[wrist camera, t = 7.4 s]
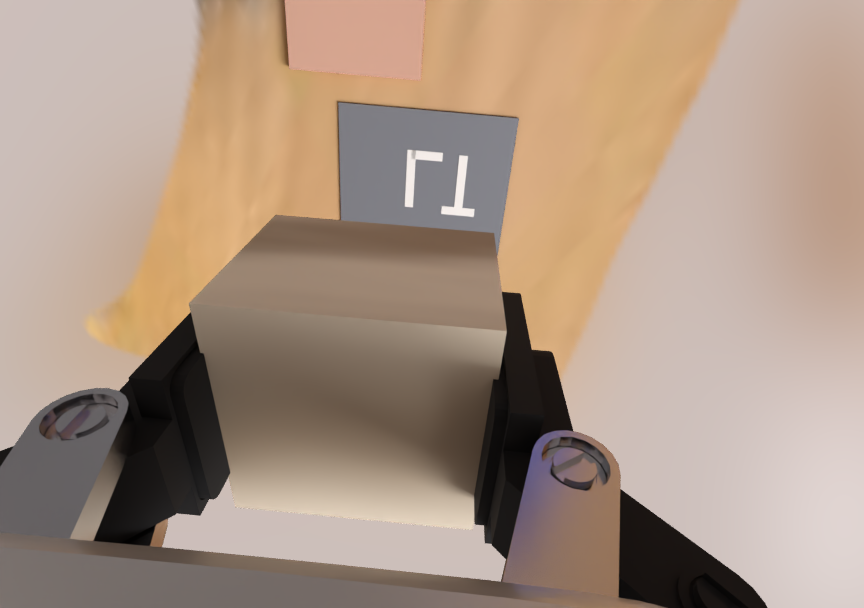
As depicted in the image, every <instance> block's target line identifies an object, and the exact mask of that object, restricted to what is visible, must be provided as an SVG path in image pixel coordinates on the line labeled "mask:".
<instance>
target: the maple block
mask: <svg viewBox="0 0 864 608" xmlns="http://www.w3.org/2000/svg"><path fill="white" fill-rule="evenodd" d="M189 306H190V311H191V315H192V319H193V324H194V328H195V333H196V337H197V341H198V346H199V350H200V353H204V357H205V361H206V366H207V370H208V374H209V379H210V383H211V388H212V392H213V397H214V401H215V406H216V410H217V415H218V419H219V424H220V428H221V433H222V437H223V441H224V446H225V450H226V455H227V459H228V464H229V468H230V475H229V476H228V477H229V481H230V486H231V490H232V494H233V499H234V503H235V507H238V508H248V509H260V510H269V511H280V512H290V513H300V514H301V513H302V514H312V515H321V516H332V517H342V518H353V519H363V520H374V521H385V522H394V523H406V524H415V525H426V526H436V527H446V528H457V529H468V530H472V529H473V524H474V493H475V487H476V481H477V475H478V468H479V462H480V456H481V450H482V444H483V438H484V432H485V426H486V420H487V414H488V408H489V402H490V396H491V390H492V384H493V379H497V380H498V379H499V374H500V368H501V362H502V356H503V350H504V345H505V339H506V333H507V329H506V321H505V313H504V306H503V298H502V290H501V282H500V275H499V267H498V259H497V252H496V244H495V236H494V233H488V232H476V231H464V230H452V229H440V228H428V227H416V226H404V225H392V224H380V223H368V222H356V221H344V220H332V219H320V218H308V217H296V216H283V215H275V216H274V217H273V218H272V219H271V220H270V221H269V222H268V223H267V224H266V225H265V226H264V227H263V228H262V229H261V230H260V231H259V233H258V234H257V235H256V236H255V237H254V238H253V239H252V240H251V241H250V242H249V243H248V244H247V245H246V246H245V247H244V248H243V249H242V250H241V251H240V252H239V253H238V254H237V255H236V256H235V257H234V258H233V259H232V260H231V261H230V262H229V263H228V264H227V265H226V266H225V267H224V268H223V269H222V270H221V271H220V272H219V273H218V274H217V275H216V276H215V277H214V278H213V279H212V280H211V281H210V282H209V283H208V284H207V285H206V286H205V288H204V289H203V290H202V291H201V292H200V293H199V294H198V295H197V296H196V297H195V298H194V299H193V300H192V301H191V302H190V303H189Z"/></svg>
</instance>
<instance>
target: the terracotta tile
mask: <svg viewBox="0 0 864 608" xmlns="http://www.w3.org/2000/svg"><path fill="white" fill-rule="evenodd" d="M425 5H426V0H285V12H286V27H287V42H288V57H289V69H295V70H306V71H317V72H329V73H340V74H351V75H363V76H374V77H385V78H397V79H408V80H419V81H421V75H422V57H423V40H424V23H425Z"/></svg>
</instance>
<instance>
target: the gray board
mask: <svg viewBox="0 0 864 608" xmlns="http://www.w3.org/2000/svg"><path fill="white" fill-rule="evenodd" d="M338 105H339V150H340V196H341V220H344V221H356V222H368V223H380V224H392V225H404V226H416V227H428V228H440V229H452V230H464V231H476V232H488V233H494V236H495V244H496V252H497V255H498V248H499V242H500V235H501V229H502V223H503V216H504V210H505V204H506V197H507V191H508V184H509V178H510V172H511V165H512V159H513V152H514V146H515V140H516V133H517V127H518V121H519V118H510V117H499V116H488V115H477V114H466V113H454V112H443V111H432V110H421V109H409V108H398V107H387V106H376V105H365V104H353V103H342V102H338Z"/></svg>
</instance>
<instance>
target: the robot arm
mask: <svg viewBox="0 0 864 608" xmlns="http://www.w3.org/2000/svg"><path fill="white" fill-rule="evenodd" d="M502 298H503V306H504V313H505V321H506V329H507V333H506V339H505V345H504V350H503V356H502V362H501V368H500V374H499V379H498V380H497V379H493V384H492V390H491V396H490V402H489V408H488V414H487V420H486V426H485V432H484V438H483V444H482V450H481V456H480V462H479V468H478V475H477V481H476V487H475V493H474V521H475V524H476V525H484V533H485V543H490V544H492V546H493V547H494V548H496V549H497V551H498V552H499V553H500V554H501V555H502V556H503V557H504V558H505V559H506V562H505V566H504V571H503V575H502V579H501V582H498V581H490V580H480V579H470V578H461V577H451V576H442V575H432V574H422V573H413V572H403V571H393V570H384V569H374V568H365V567H355V566H345V565H336V564H325V563H316V562H305V561H295V560H285V559H275V558H264V557H255V556H244V555H235V554H224V553H213V552H204V551H193V550H183V549H173V548H163V547H162V545H163V541H164V538H165V534H166V530H167V526H168V518H170V517H172V516H173V515H175V514H176V513H179V514H190V515H201V513H202V511H203V510H204V508H205V506H206V504H207V502H208V500H209V499H215V498H217V497H218V495H219V494H220V492H221V490H222V488H223V486H224V484H225V482H226V480H227V478H228V476H229V475H230V468H229V464H228V459H227V455H226V450H225V446H224V441H223V437H222V433H221V428H220V424H219V419H218V415H217V410H216V406H215V401H214V397H213V392H212V388H211V383H210V379H209V374H208V370H207V366H206V361H205V357H204V353H200V350H199V346H198V341H197V337H196V333H195V328H194V324H193V319H192V315H191V312H190V313H189V315H188V316H187V317H186V318H185V319H184V320H183V321H182V322H181V323H180V324H179V325H178V326H177V327H176V328H175V329H174V330H173V331H172V332H171V334H170V335H169V336H168V337H167V338H166V339H165V340H164V341H163V342H162V343H161V344H160V345H159V346H158V347H157V348H156V349H155V350H154V351H153V352H152V354H151V355H150V356H149V357H148V358H147V359H146V360H145V361H144V362H143V363H142V364H141V365H140V366H139V367H138V368H137V369H136V370H135V372H134V373H133V374H132V375H131V376H130V377H129V381H128V382H127V383H126V384H125V385H124V386H123V387H122V388H121V389H120V391H117V390H112V389H109V388H94V389H88V390H83V391H78V392H75V393H72V394H69V395H66V396H64V397H62V398H60V399H58V400H56V401H54V402H52V403H51V404H49V405H48V406H46V407H45V408H44V409H42V410H41V411H40V412H39V413H38V414H37V415H36V416H35V417H34V418H33V419H32V420H31V422H30V423H29V425H28V426H27V428H26V429H25V431H24V432H23V434H22V435H21V437H20V438H19V440H18V441H17V443H16V444H15V446H13V447H10V448H7V449H5V450H2V451H0V608H767V606H766V604H765V603H764V601H763V600H762V599H761V598H760V596H759V595H758V594H757V593H756V591H755V590H754V589H753V588H752V587H751V586H750V585H749V584H747V582H745V581H744V580H743V579H742V578H741V577H740V576H739V575H737V574H736V573H735V572H733V571H732V570H731V569H729V568H728V567H726V566H725V565H723V564H722V563H721V562H720V561H718V560H717V559H715V558H714V557H713V556H711V555H710V554H708V553H707V552H706V551H704V550H703V549H702V548H700V547H699V546H698V545H696V544H695V543H693V542H692V541H691V540H689V539H688V538H687V537H685V536H684V535H683V534H681V533H680V532H678V531H677V530H676V529H674V528H673V527H671V526H670V525H669V524H667V523H666V522H665V521H663V520H662V519H661V518H659V517H658V516H657V515H655V514H654V513H652V512H651V511H650V510H648V509H647V508H645V507H644V506H643V505H641V504H640V503H639V502H637V501H636V500H635V499H633V498H632V497H630V496H629V495H628V494H626V493H625V492H624V491H622V490H621V489H620V478H621V477H620V476H621V475H620V470H619V465H618V463H617V461H616V459H615V458H614V456H613V454H612V453H611V452H610V451H609V450H608V449H607V448H606V447H605V446H604V445H603V444H601V443H599V442H598V441H596V440H595V439H593V438H592V437H589V436H587V435H584V434H582V433H578V432H574V431H573V429H572V424H571V421H570V417H569V413H568V409H567V405H566V401H565V398H564V394H563V390H562V386H561V382H560V378H559V374H558V370H557V367H556V363H555V359H554V356H553V353H552V352H550V351H540V350H532V349H531V344H530V339H529V334H528V329H527V324H526V319H525V314H524V309H523V303H522V298H521V294H520V293H509V292H502Z"/></svg>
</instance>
